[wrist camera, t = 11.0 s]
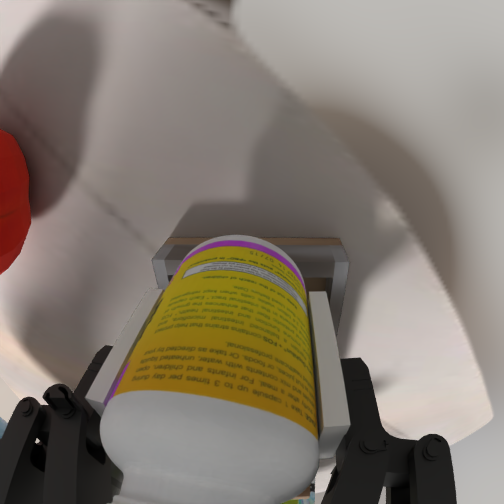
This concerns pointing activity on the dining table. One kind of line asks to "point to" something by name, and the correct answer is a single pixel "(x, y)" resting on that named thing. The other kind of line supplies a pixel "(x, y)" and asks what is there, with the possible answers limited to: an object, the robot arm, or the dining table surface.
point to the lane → (299, 250)
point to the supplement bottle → (219, 385)
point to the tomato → (12, 200)
